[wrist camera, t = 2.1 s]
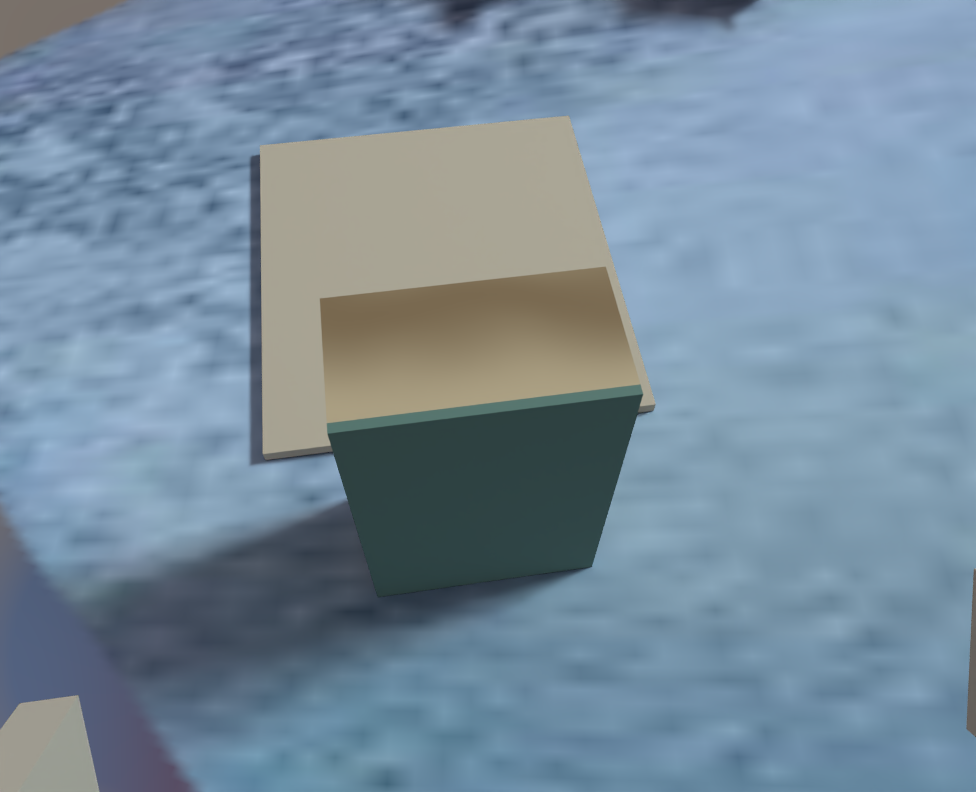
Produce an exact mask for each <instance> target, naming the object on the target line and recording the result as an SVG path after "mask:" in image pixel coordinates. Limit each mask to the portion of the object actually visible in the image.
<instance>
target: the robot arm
mask: <svg viewBox="0 0 976 792" xmlns="http://www.w3.org/2000/svg"><path fill="white" fill-rule="evenodd" d="M967 730H968V731H969V732H971V733H972V734H973V735H974V736H975V737H976V569H974V577H973V599H972V620H971V642H970V664H969V685H968V707H967ZM0 792H99V788H98V784H97V779H96V774H95V770H94V765H93V760H92V756H91V751H90V747H89V742H88V737H87V733H86V728H85V723H84V719H83V714H82V710H81V705H80V700H79V696H78V695H76V696H69V697H62V698H54V699H48V700H41V701H33V702H27V703H20V704H19V705H18V706H17V708H16V709H15V710H14V712H13V713H12V715H11V716H10V717H9V719H8V720H7V721H6V723H5V724H4V726H3V727H2V728H1V730H0Z"/></svg>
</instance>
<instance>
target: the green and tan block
mask: <svg viewBox="0 0 976 792" xmlns="http://www.w3.org/2000/svg"><path fill="white" fill-rule="evenodd" d="M320 312H321V330H322V348H323V366H324V384H325V402H326V420H327V434H328V438H329V441H330V444H331V447H332V451H333V454H334V457H335V460H336V463H337V467H338V470H339V473H340V476H341V480H342V483H343V486H344V489H345V493H346V496H347V499H348V502H349V506H350V509H351V512H352V515H353V519H354V522H355V525H356V528H357V531H358V535H359V538H360V541H361V544H362V548H363V551H364V554H365V557H366V561H367V564H368V567H369V570H370V574H371V577H372V580H373V583H374V586H375V590H376V593H377V596H378V597H382V596H389V595H396V594H403V593H410V592H418V591H425V590H432V589H439V588H446V587H453V586H460V585H467V584H474V583H481V582H488V581H495V580H502V579H509V578H516V577H523V576H530V575H537V574H544V573H551V572H558V571H565V570H572V569H579V568H586V567H592V564H593V561H594V558H595V554H596V551H597V547H598V544H599V541H600V537H601V534H602V531H603V527H604V524H605V521H606V517H607V514H608V511H609V507H610V504H611V501H612V497H613V494H614V491H615V487H616V484H617V481H618V477H619V474H620V471H621V467H622V464H623V460H624V457H625V454H626V450H627V447H628V444H629V440H630V437H631V434H632V430H633V427H634V424H635V420H636V417H637V414H638V410H639V407H640V404H641V400H642V397H643V391H642V388H641V384H640V381H639V378H638V374H637V371H636V367H635V364H634V361H633V357H632V354H631V350H630V347H629V344H628V340H627V337H626V333H625V330H624V327H623V323H622V320H621V316H620V313H619V310H618V306H617V303H616V299H615V296H614V293H613V289H612V286H611V282H610V279H609V276H608V272H607V269H606V267H597V268H588V269H579V270H570V271H561V272H552V273H544V274H535V275H526V276H517V277H508V278H499V279H490V280H481V281H472V282H463V283H454V284H445V285H436V286H427V287H418V288H409V289H400V290H391V291H382V292H373V293H364V294H355V295H346V296H337V297H329V298H320Z"/></svg>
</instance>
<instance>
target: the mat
mask: <svg viewBox="0 0 976 792" xmlns="http://www.w3.org/2000/svg"><path fill="white" fill-rule="evenodd" d="M260 195H261V310H262V425H263V456H264V458H265V460H270V459H278V458H286V457H293V456H301V455H309V454H317V453H325V452H333V451H332V447H331V444H330V441H329V438H328V434H327V420H326V402H325V384H324V366H323V348H322V330H321V312H320V298H329V297H337V296H346V295H355V294H364V293H373V292H382V291H391V290H400V289H409V288H418V287H427V286H436V285H445V284H454V283H463V282H472V281H481V280H490V279H499V278H508V277H517V276H526V275H535V274H544V273H552V272H561V271H570V270H579V269H588V268H597V267H606V269H607V272H608V276H609V279H610V282H611V286H612V289H613V293H614V296H615V299H616V303H617V306H618V310H619V313H620V316H621V320H622V323H623V327H624V330H625V333H626V337H627V340H628V344H629V347H630V350H631V354H632V357H633V361H634V364H635V367H636V371H637V374H638V378H639V381H640V384H641V388H642V391H643V397H642V400H641V404H640V407H639V410H638V413H639V412H647V411H654V408H655V405H656V404H655V401H654V397H653V394H652V391H651V387H650V384H649V381H648V377H647V374H646V371H645V367H644V364H643V361H642V357H641V354H640V351H639V347H638V344H637V341H636V337H635V334H634V331H633V328H632V324H631V321H630V318H629V314H628V311H627V308H626V304H625V301H624V298H623V294H622V291H621V288H620V284H619V281H618V278H617V274H616V271H615V268H614V264H613V261H612V258H611V254H610V251H609V248H608V244H607V241H606V238H605V235H604V231H603V228H602V225H601V221H600V218H599V215H598V211H597V208H596V205H595V201H594V198H593V195H592V191H591V188H590V185H589V181H588V178H587V175H586V171H585V168H584V165H583V161H582V158H581V155H580V151H579V148H578V145H577V141H576V138H575V135H574V132H573V128H572V125H571V122H570V118H569V116H561V117H551V118H540V119H530V120H520V121H509V122H499V123H489V124H478V125H468V126H457V127H447V128H437V129H426V130H416V131H406V132H395V133H385V134H374V135H364V136H354V137H343V138H333V139H323V140H312V141H302V142H291V143H281V144H271V145H260Z"/></svg>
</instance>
